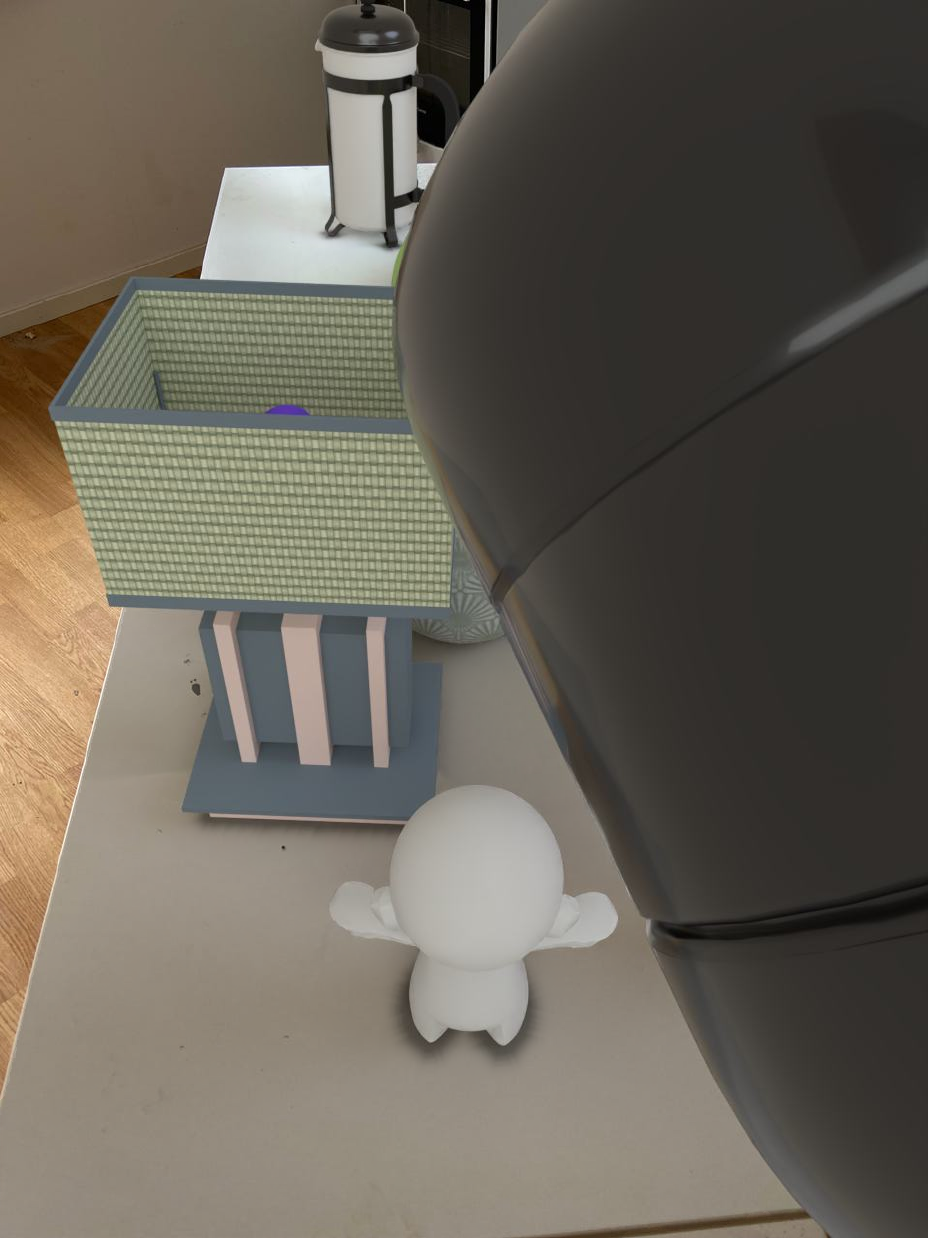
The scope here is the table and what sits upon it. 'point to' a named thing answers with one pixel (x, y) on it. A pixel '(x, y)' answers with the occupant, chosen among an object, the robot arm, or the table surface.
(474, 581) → the planter
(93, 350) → the desk lamp
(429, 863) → the figurine
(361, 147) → the coffee press
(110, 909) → the table surface
